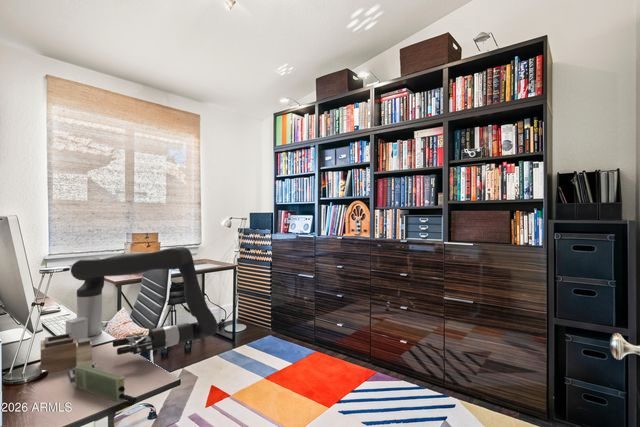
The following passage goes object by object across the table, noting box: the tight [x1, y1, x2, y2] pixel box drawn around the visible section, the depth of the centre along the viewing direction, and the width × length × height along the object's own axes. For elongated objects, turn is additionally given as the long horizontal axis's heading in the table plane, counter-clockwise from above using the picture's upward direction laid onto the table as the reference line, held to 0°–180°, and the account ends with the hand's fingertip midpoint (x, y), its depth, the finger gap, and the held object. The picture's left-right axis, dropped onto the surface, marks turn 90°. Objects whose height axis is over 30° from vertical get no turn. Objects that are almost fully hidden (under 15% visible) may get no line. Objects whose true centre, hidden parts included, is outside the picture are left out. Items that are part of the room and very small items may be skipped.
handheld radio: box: [74, 364, 137, 404], centre depth 102 cm, size 7×3×25 cm
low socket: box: [68, 362, 99, 383], centre depth 115 cm, size 8×8×1 cm
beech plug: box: [75, 337, 93, 367], centre depth 115 cm, size 4×4×11 cm
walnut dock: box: [40, 333, 78, 373], centre depth 122 cm, size 10×10×9 cm
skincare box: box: [65, 317, 88, 342], centre depth 134 cm, size 6×4×12 cm
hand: (114, 347), depth 121 cm, fingers open, 8 cm apart
